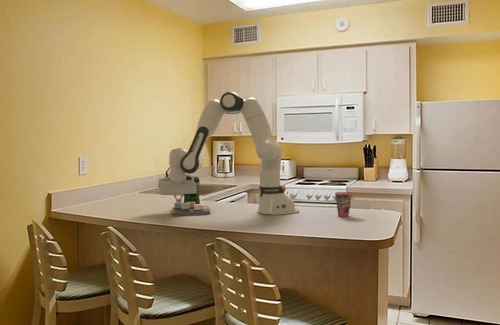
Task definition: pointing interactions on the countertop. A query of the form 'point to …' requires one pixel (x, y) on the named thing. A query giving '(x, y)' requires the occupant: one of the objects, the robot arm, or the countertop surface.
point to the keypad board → (190, 211)
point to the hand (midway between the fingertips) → (178, 202)
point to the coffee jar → (194, 196)
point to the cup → (343, 203)
